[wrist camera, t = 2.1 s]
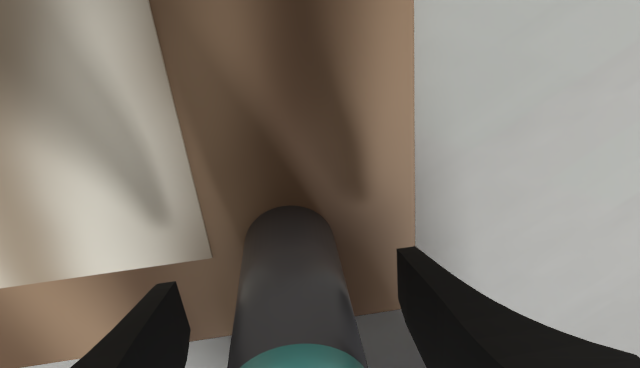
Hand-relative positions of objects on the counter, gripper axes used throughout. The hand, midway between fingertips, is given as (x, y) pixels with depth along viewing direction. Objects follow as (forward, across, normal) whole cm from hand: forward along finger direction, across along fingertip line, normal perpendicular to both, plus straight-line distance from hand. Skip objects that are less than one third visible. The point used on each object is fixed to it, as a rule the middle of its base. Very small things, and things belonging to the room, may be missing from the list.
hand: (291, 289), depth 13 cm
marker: (+3, 0, 0) cm, 3 cm away
